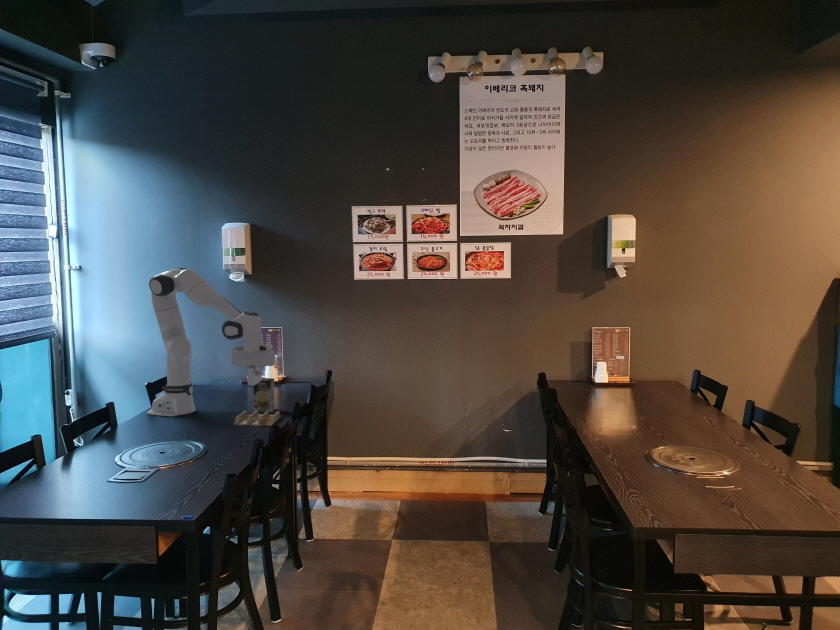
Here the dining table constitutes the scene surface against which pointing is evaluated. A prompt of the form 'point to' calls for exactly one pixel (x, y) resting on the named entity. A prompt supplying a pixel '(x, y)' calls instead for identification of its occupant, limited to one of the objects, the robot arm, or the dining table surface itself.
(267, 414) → the rack
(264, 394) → the coffee box
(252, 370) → the panel
